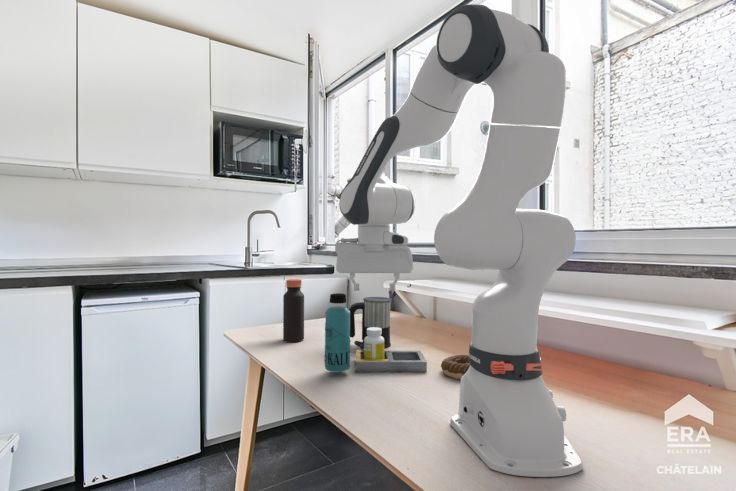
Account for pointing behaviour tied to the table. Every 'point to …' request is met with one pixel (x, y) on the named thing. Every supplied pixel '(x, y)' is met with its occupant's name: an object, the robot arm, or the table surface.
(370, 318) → the milk frother
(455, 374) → the donut
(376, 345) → the supplement bottle
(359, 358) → the grey compartment tray
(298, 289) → the vinegar
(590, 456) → the table surface
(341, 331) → the beverage bottle
